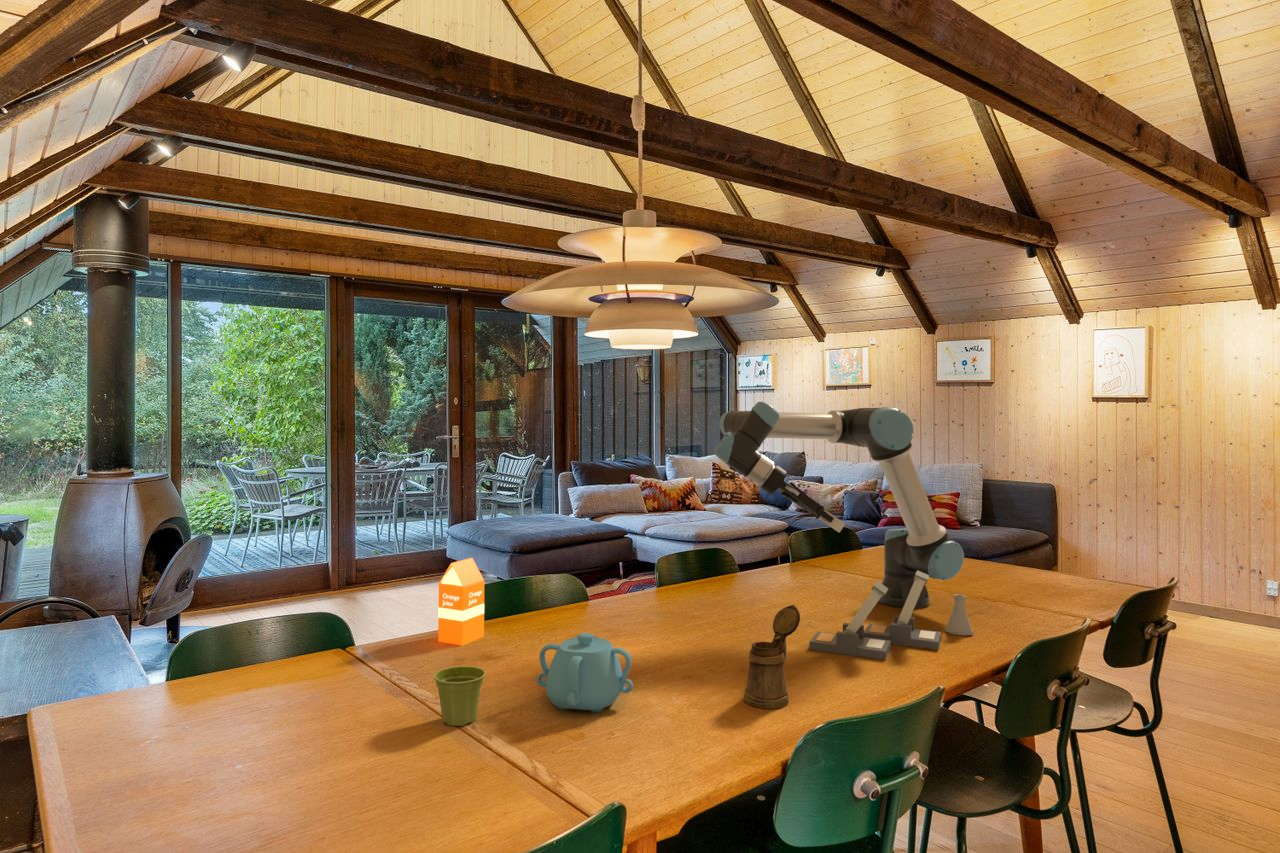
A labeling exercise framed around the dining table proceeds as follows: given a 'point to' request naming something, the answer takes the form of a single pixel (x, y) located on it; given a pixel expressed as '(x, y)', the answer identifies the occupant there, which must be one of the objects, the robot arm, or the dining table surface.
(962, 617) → the flask
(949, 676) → the dining table surface
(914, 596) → the lever far
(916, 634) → the housing far
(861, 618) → the lever near
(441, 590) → the orange juice
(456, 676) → the plant pot
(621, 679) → the decorative pot
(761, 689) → the wooden mug
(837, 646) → the housing near
